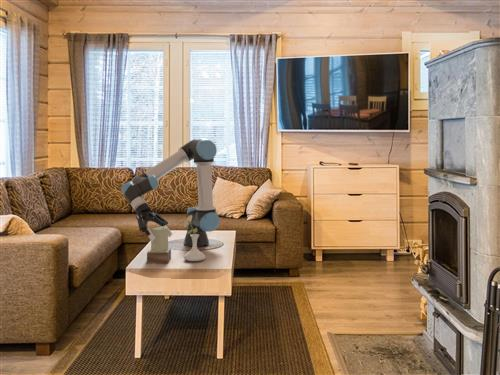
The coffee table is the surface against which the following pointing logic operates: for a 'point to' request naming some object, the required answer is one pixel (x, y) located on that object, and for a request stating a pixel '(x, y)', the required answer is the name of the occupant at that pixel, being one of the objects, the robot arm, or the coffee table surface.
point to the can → (159, 238)
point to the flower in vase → (194, 252)
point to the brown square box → (158, 257)
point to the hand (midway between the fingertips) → (162, 237)
